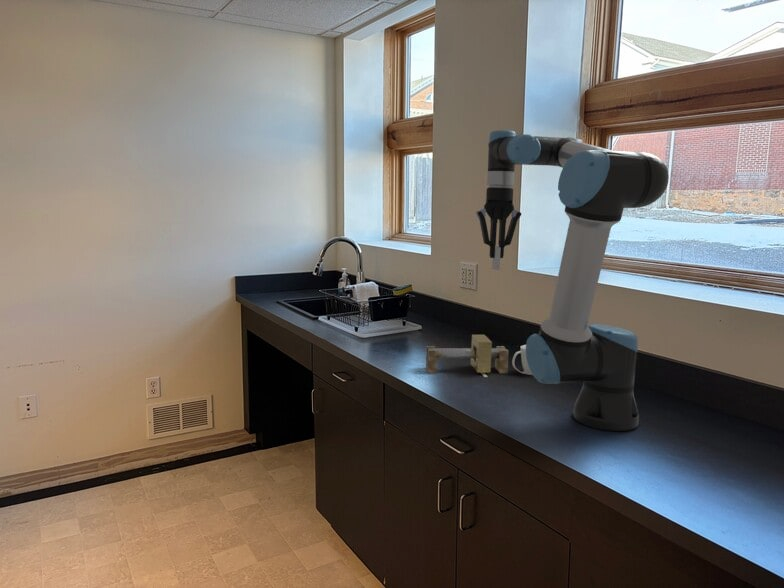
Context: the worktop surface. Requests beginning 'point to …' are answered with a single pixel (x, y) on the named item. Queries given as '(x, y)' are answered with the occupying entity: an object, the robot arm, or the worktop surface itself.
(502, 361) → the cradles
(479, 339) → the collar
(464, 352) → the pipe
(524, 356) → the cup
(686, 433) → the worktop surface
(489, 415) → the worktop surface
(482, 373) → the tick mark
